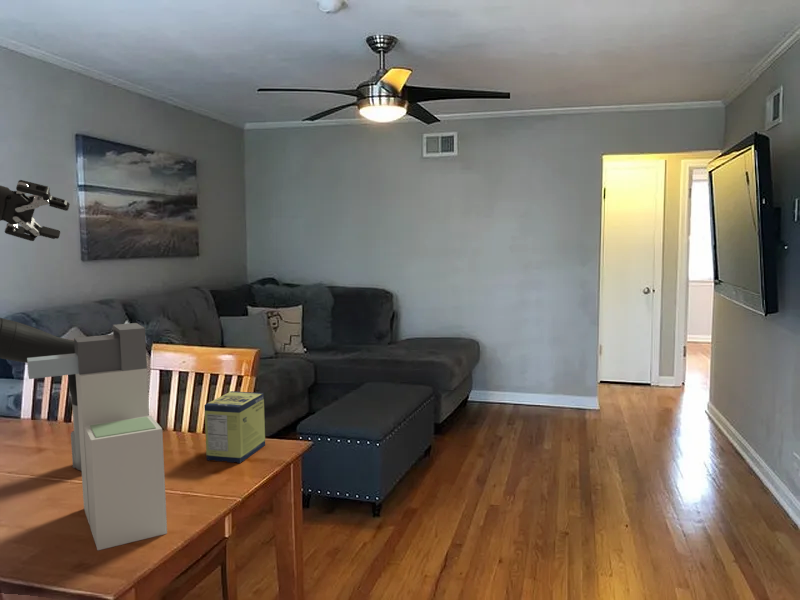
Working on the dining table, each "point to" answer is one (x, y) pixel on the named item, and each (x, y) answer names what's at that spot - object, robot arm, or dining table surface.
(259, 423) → the protein box
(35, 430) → the dining table surface
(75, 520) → the dining table surface
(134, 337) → the grey stepped fixture
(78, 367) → the plug
